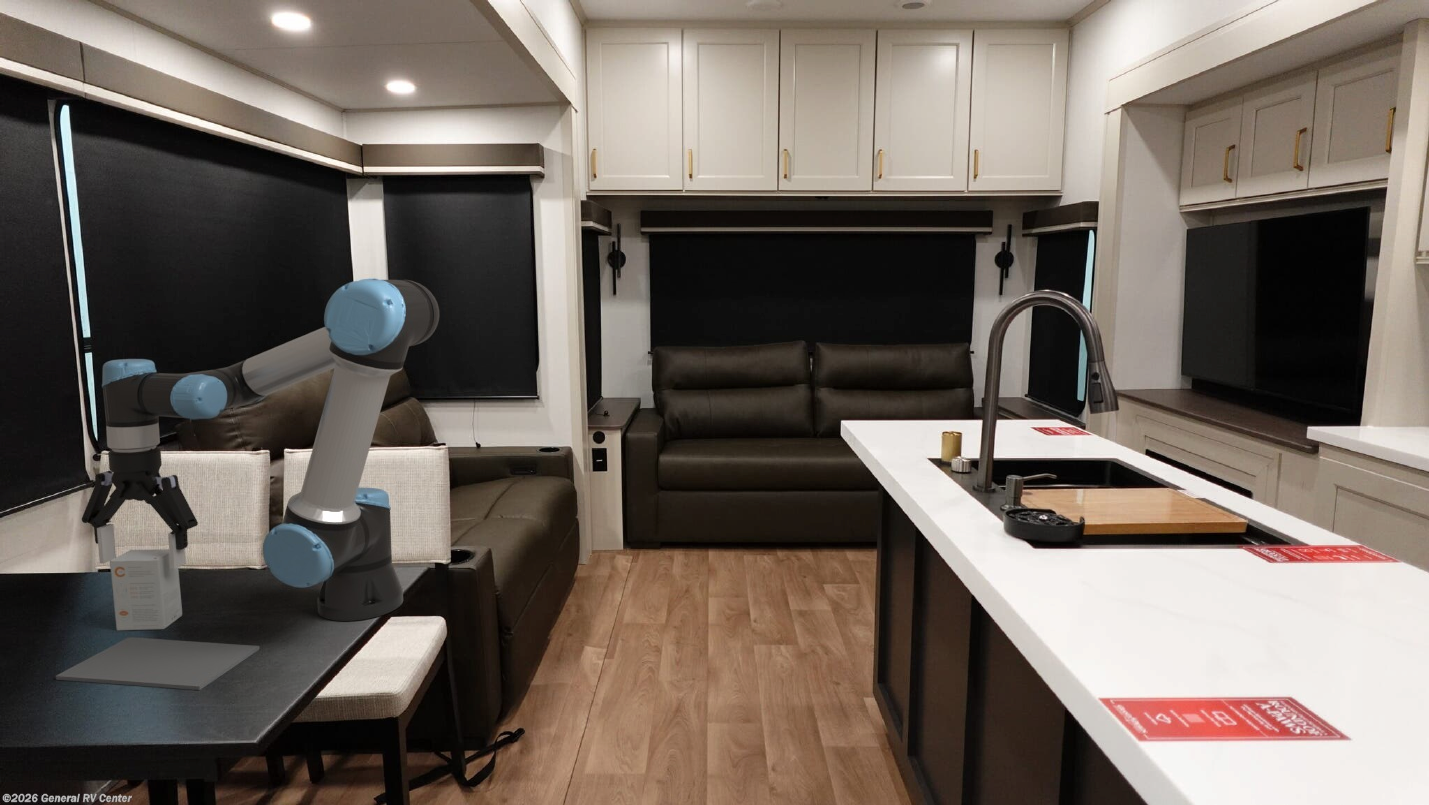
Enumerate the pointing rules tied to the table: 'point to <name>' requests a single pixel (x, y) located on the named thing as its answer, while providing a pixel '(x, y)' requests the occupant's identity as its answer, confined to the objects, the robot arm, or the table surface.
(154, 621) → the small box
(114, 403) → the robot arm
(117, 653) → the mat
